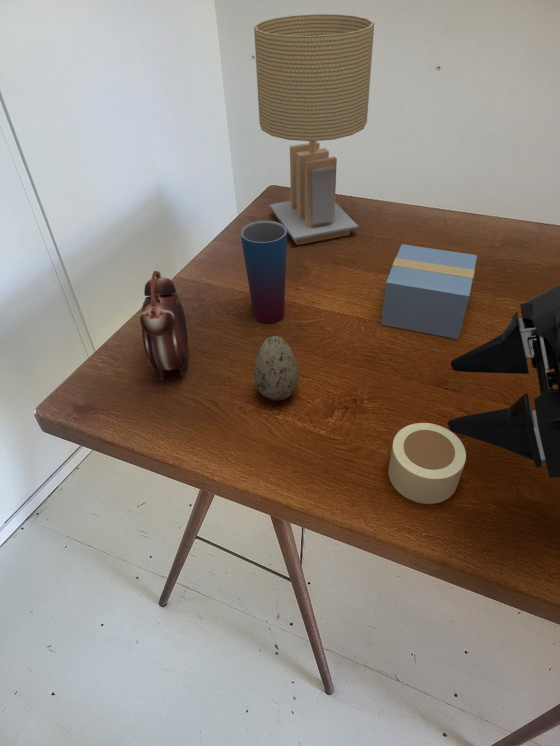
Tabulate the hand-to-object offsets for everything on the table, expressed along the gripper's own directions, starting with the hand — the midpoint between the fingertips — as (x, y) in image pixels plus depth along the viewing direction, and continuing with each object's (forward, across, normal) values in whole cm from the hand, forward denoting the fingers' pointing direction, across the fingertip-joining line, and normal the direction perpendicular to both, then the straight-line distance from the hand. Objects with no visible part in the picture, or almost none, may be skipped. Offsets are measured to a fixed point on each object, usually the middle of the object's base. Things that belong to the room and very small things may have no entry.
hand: (450, 393), depth 50 cm
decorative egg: (+25, -11, +4) cm, 27 cm away
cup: (+30, -28, +1) cm, 42 cm away
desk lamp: (+30, -60, -2) cm, 67 cm away
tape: (+6, -2, +13) cm, 15 cm away
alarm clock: (+40, -13, -2) cm, 42 cm away
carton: (+7, -35, +10) cm, 37 cm away
